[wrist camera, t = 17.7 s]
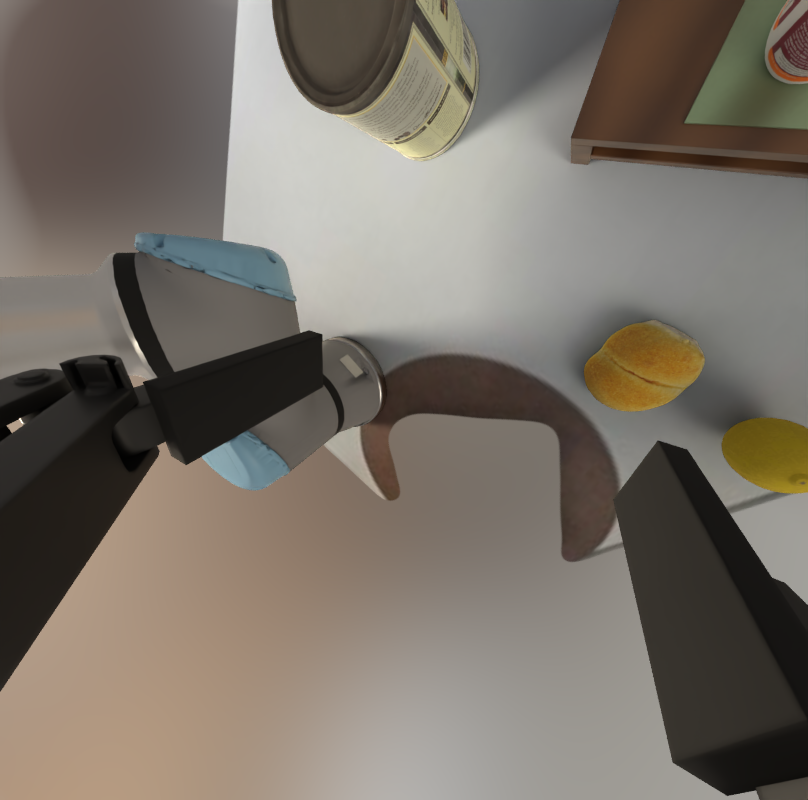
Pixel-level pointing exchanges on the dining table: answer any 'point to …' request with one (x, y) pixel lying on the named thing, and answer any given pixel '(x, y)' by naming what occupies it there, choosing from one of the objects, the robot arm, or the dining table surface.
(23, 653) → the robot arm
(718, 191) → the dining table surface
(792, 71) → the pill bottle
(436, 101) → the coffee can
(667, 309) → the dining table surface
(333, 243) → the dining table surface
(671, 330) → the bread roll
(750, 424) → the lemon
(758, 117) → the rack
